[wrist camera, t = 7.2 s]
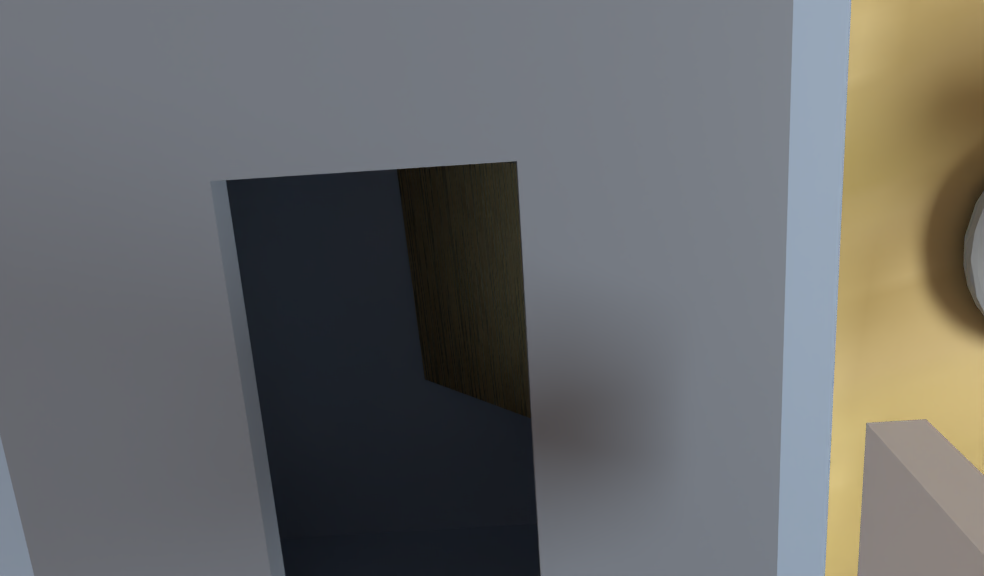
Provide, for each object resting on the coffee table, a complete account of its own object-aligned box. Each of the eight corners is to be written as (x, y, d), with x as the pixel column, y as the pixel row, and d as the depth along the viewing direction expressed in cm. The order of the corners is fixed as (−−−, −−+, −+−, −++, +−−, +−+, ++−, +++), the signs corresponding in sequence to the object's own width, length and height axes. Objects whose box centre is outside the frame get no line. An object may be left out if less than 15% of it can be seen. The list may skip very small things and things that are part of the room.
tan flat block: (494, 349, 26) (702, 413, 21) (424, 379, 25) (630, 455, 20) (471, 135, 25) (691, 148, 19) (394, 153, 23) (611, 171, 18)
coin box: (684, 519, 29) (811, 860, 18) (233, 546, 29) (70, 900, 18) (681, -109, 24) (861, -206, 12) (130, -70, 24) (-197, -130, 13)
